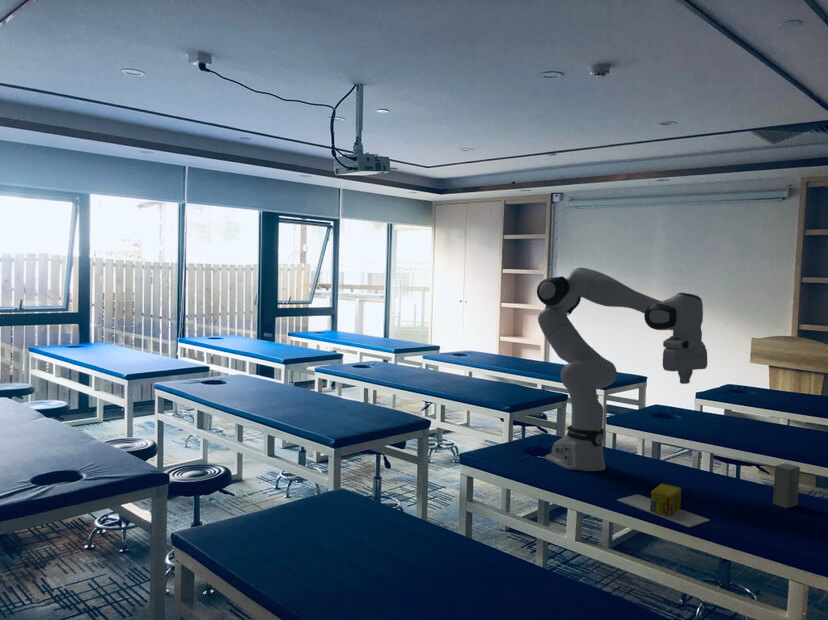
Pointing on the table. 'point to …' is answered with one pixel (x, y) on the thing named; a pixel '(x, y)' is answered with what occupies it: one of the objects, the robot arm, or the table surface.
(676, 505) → the supplement box
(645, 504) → the mat
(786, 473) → the skincare box
